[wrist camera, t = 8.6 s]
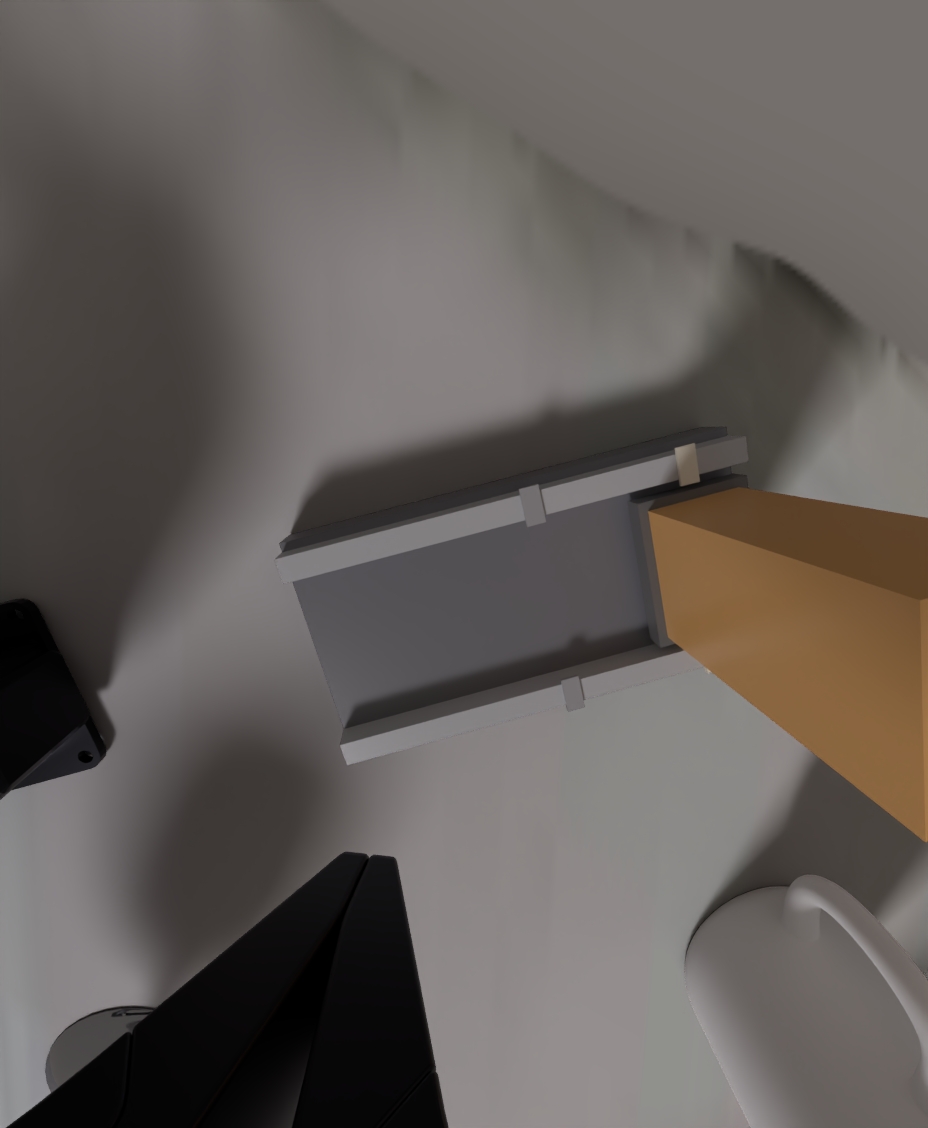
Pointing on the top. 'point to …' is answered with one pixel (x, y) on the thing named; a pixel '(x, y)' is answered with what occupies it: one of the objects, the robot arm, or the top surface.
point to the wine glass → (88, 1041)
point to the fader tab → (802, 621)
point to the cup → (812, 1009)
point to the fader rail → (492, 596)
